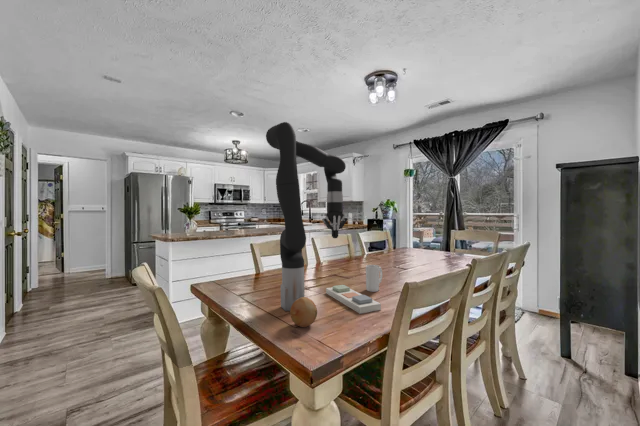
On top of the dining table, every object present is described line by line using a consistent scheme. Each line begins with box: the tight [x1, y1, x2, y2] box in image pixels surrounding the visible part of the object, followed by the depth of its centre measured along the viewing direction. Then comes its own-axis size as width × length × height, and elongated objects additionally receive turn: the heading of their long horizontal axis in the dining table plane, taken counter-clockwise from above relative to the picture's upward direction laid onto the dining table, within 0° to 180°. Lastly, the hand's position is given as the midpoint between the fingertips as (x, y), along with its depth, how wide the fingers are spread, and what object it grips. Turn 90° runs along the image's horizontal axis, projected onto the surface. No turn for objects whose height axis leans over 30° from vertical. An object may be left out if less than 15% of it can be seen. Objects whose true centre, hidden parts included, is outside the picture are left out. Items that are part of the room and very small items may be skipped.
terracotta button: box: [342, 292, 359, 298], centre depth 131 cm, size 6×6×2 cm
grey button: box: [352, 294, 373, 305], centre depth 123 cm, size 6×6×2 cm
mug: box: [365, 264, 383, 293], centre depth 148 cm, size 10×7×12 cm, turn 122°
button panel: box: [325, 286, 382, 315], centre depth 131 cm, size 10×30×2 cm, turn 25°
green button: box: [332, 284, 351, 293], centre depth 139 cm, size 6×6×2 cm
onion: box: [289, 296, 318, 328], centre depth 104 cm, size 10×10×10 cm
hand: (335, 238), depth 140 cm, fingers closed
